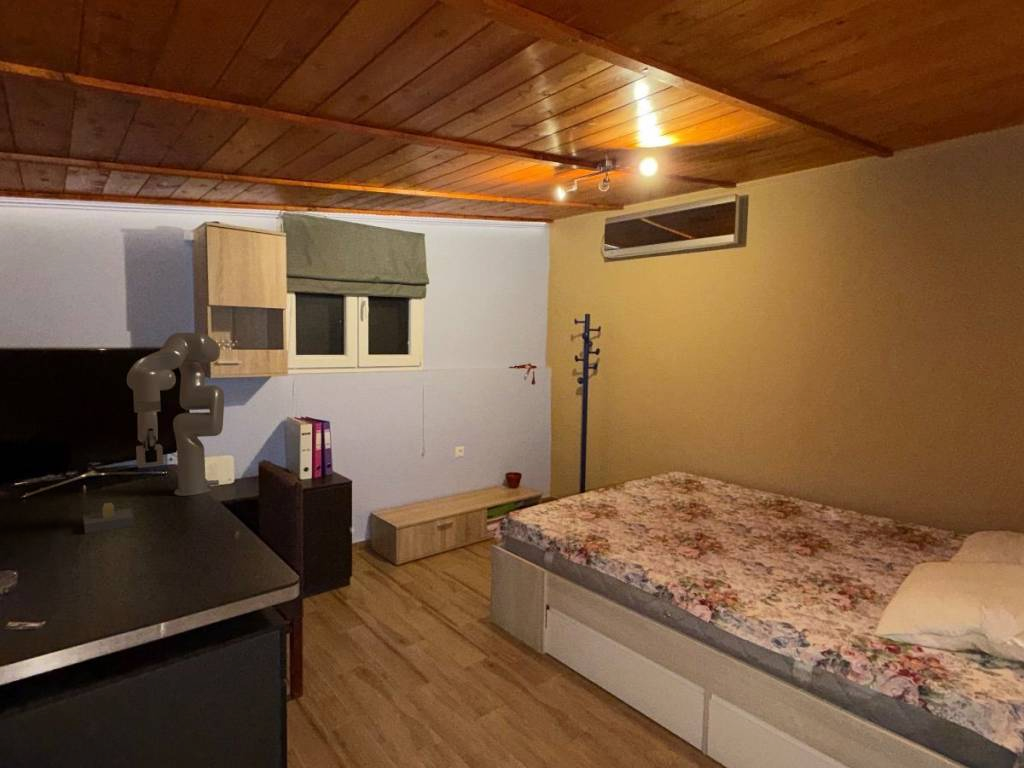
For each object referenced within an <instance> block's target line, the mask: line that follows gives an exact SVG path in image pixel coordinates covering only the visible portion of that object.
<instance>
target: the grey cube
mask: <svg viewBox="0 0 1024 768" xmlns="http://www.w3.org/2000/svg"><path fill="white" fill-rule="evenodd" d="M163 449H164V447H163V445H162V444H160V443H158V444H156V450H157V462H150V463H146V458H145V451H146V445H143V444H142V445H136V447H135V452H136V465H137V466H138V467H139V468H142V467H143V468H144V467H152V466H153V467H154V466H161V465H162V466H163V465H164V453H163V452H164V450H163Z"/></svg>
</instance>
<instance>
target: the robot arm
mask: <svg viewBox="0 0 1024 768" xmlns="http://www.w3.org/2000/svg"><path fill="white" fill-rule="evenodd" d="M220 354H221V350H220V346H219V344H218V343H217V341H215V340H214V339H213V338H212V337H210V336H209V335H207V334H206V333H203V332H175V333H173V334H171V335H170V336H168V338H167V340H165V342H164V344H163V345H162V346H161V348H160V349H159V350H158V351H156V352H153V353H151V354H148V355H146V356H143V357H142V358H140V359H138V360H137V361H136V362H135V363H134V364H133V365H132V366H131V368H130V369H129V371H128V373H127V376H126V384H127V386H128V387H129V388H130V389H131V390H132V391H133V411H134V413H137V440H138V441H139V442H140V443H142V446H143V445H146V451H145V458H146V463H150V462H157V450H156V442H157V441H158V439H159V437H158V436H159V434H158V433H159V431H158V430H159V428H158V425H159V423H158V412H162V411H161V409H162V408H161V392H160V391H168V390H170V389H172V388H173V387H174V386H175V384H176V379H177V378H176V374H175V372H174V371H173V370H176V369H178V370H179V372H180V387H179V388H180V389H179V405H180V407H181V408H182V409H184V410H191V411H195V410H196V411H197V410H198V411H199V410H209V411H207V412H183V413H179V414H177V415H176V416H175V417H174V418H173V422H172V427H173V433H174V435H175V442H176V455H177V456H176V457H177V459H176V460H177V477H178V479H177V481H178V488H177V489H175V490H174V492H173V494H174V495H175V496H179V497H180V496H181V497H182V496H183V497H185V496H187V497H188V496H196V495H198V496H199V495H202V494H207V493H209V492H210V491H211V486H218V485H220V481H219V479H216V480H214V479H213V480H212V479H211V480H208V479H207V478H206V462H205V461H206V459H205V457H206V456H205V455H206V454H205V447H204V444H203V443H202V440H200V439H199V437H201V438H202V437H204V438H205V437H217V436H220V435H221V433H222V431H223V428H224V413H225V409H224V408H225V394H224V391H223V389H222V388H221V387H220V386H218V385H206V380H205V379H206V374H205V371H204V370H203V369H202V368H201V367H200V365H199V364H198V363H214V362H217V360H218V359H219V358H220V356H221V355H220Z"/></svg>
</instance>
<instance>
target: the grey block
mask: <svg viewBox="0 0 1024 768" xmlns="http://www.w3.org/2000/svg"><path fill="white" fill-rule="evenodd" d="M101 507H102V508H101V510H102V512H95V513H90V514H89V513H88V514H83V515H82V516H83V517H82V519H83V528H84V534H92V533H99V532H106V531H112V530H118V529H123V528H130V527H135V516H134V514H133V511H132V509H131V508H124V509H118V510H117V509H116V510H115V506H114V504H113V503H112V502H107V503H103V505H102V506H101Z"/></svg>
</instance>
